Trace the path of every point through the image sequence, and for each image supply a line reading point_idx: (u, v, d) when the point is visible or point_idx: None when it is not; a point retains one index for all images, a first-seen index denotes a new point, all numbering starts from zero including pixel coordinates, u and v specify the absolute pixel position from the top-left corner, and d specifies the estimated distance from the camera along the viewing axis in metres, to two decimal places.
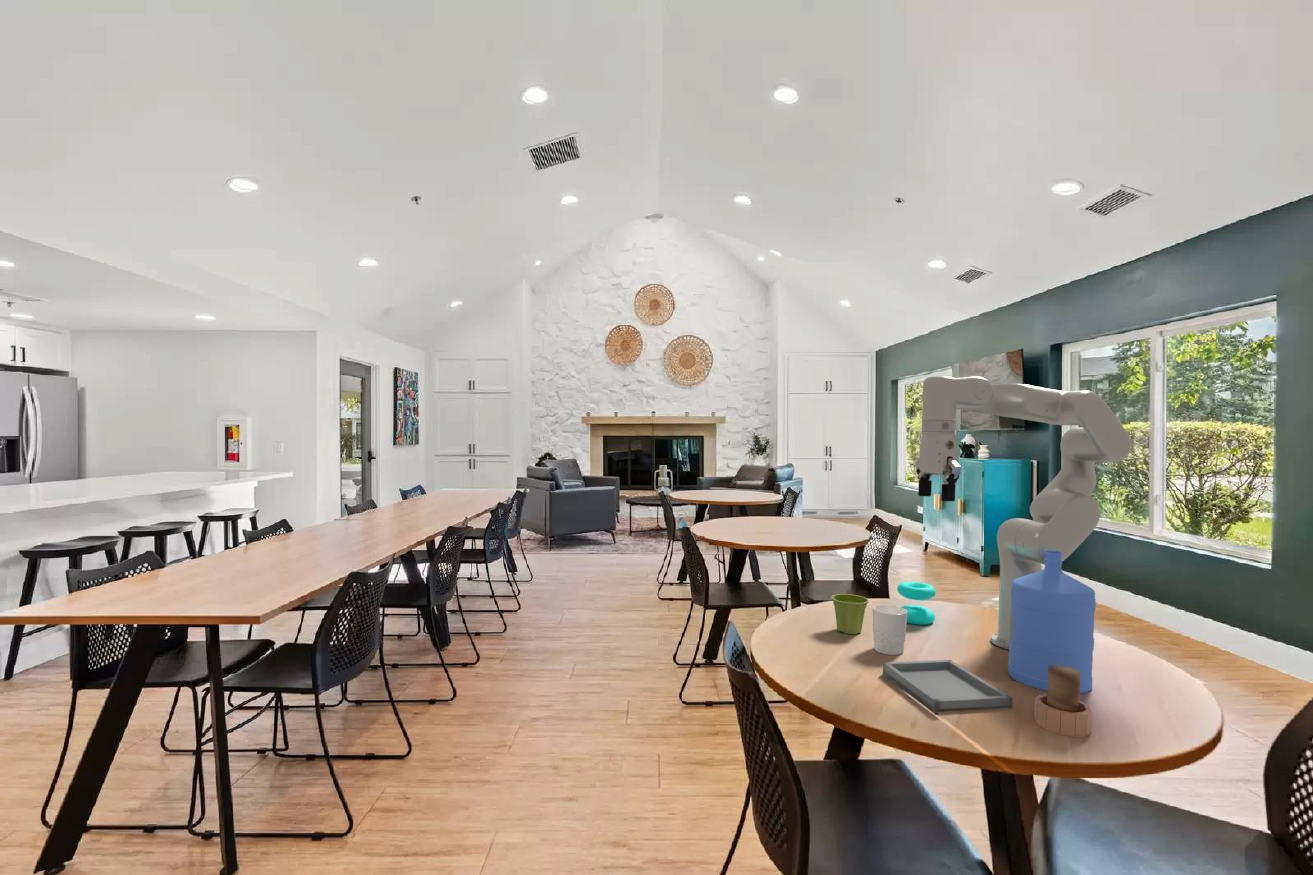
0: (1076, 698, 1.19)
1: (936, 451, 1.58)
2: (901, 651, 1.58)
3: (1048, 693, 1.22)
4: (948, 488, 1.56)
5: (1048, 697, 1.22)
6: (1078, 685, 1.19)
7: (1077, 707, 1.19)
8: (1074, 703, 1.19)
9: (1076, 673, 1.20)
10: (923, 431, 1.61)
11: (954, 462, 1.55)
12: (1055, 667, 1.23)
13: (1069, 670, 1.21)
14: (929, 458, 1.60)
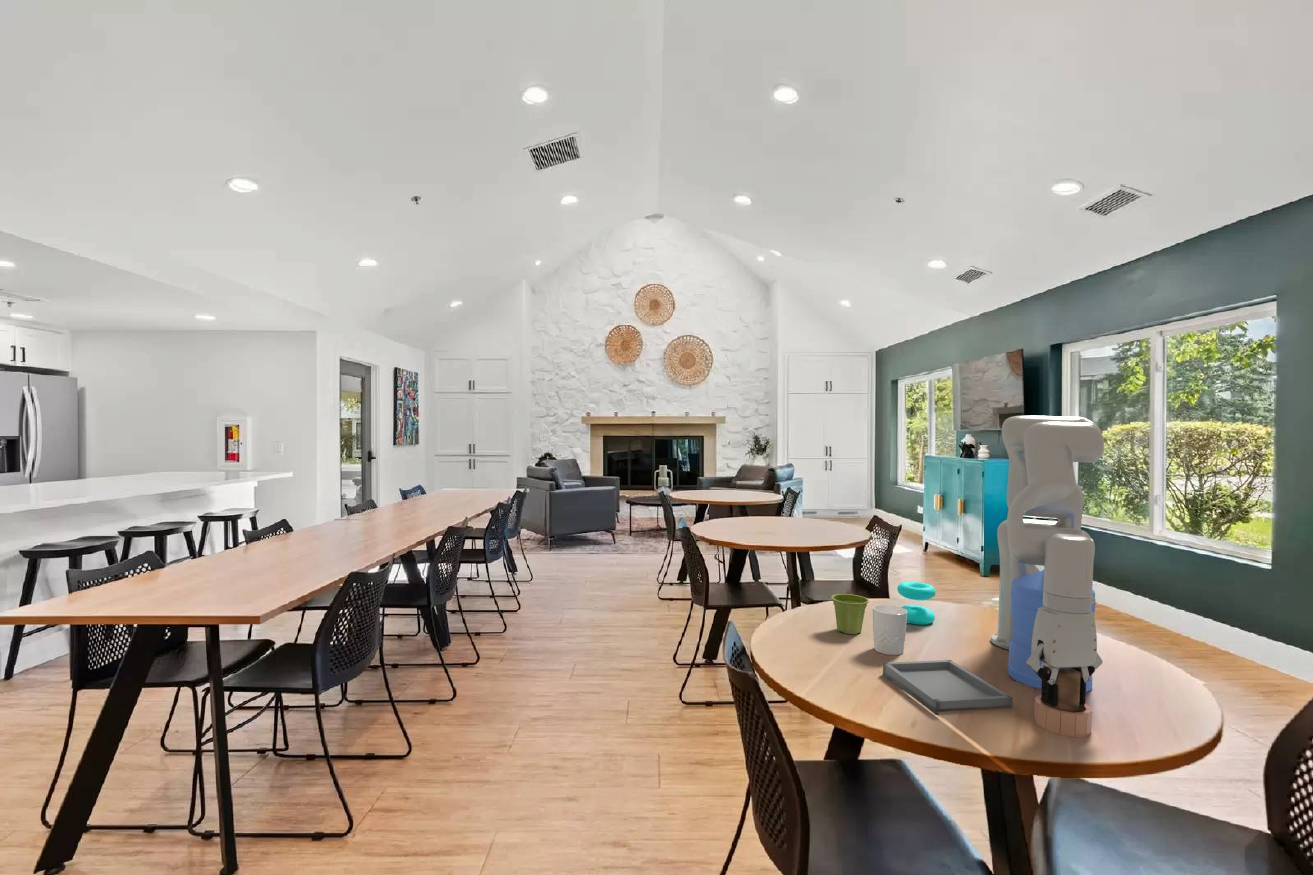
0: (1076, 698, 1.19)
1: (1091, 637, 1.19)
2: (901, 651, 1.58)
3: None
4: None
5: None
6: (1078, 685, 1.19)
7: (1077, 707, 1.19)
8: (1074, 703, 1.19)
9: (1076, 673, 1.20)
10: (1081, 614, 1.17)
11: None
12: None
13: (1069, 670, 1.21)
14: (1078, 648, 1.19)
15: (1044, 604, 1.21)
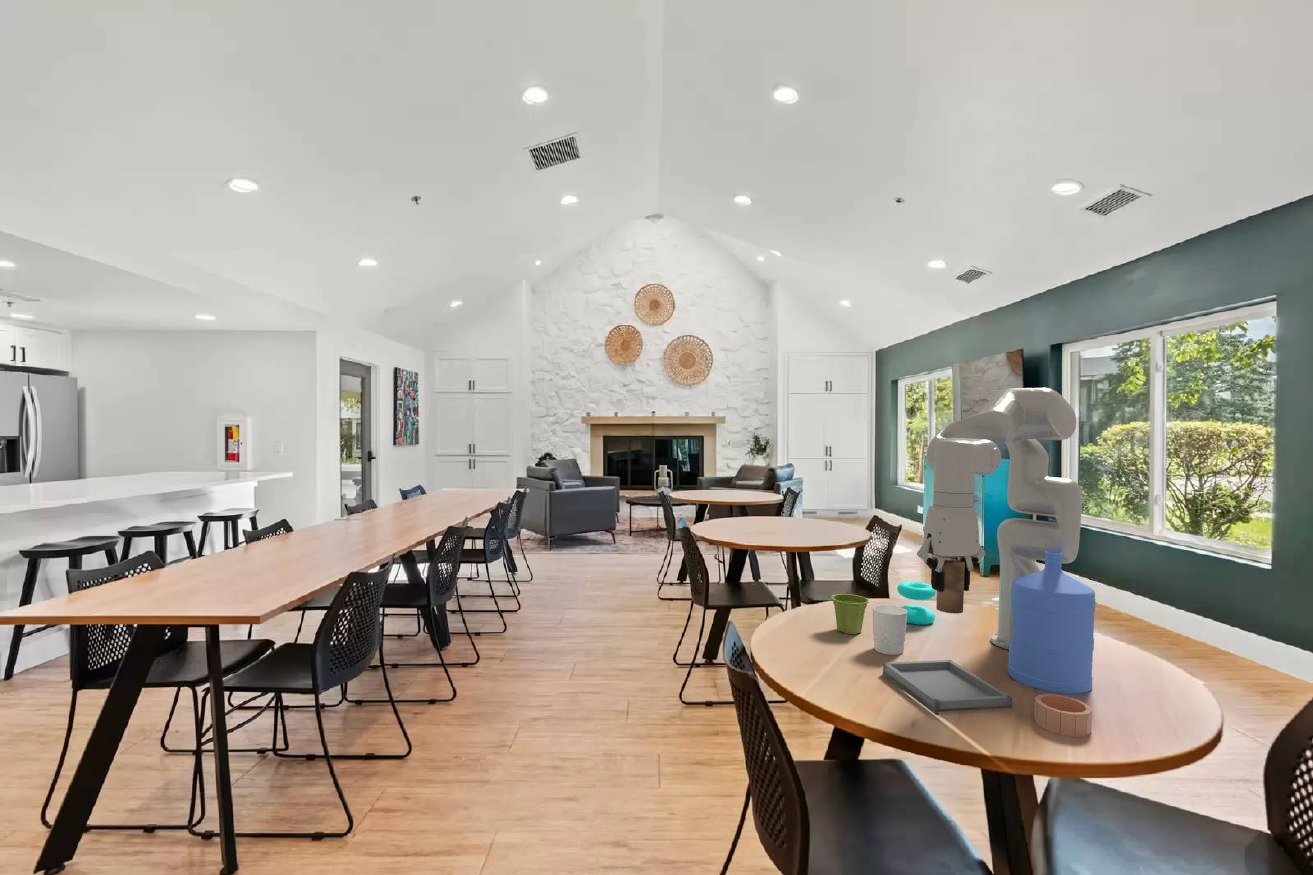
0: (960, 584, 1.34)
1: (973, 529, 1.34)
2: (901, 651, 1.58)
3: None
4: None
5: None
6: (962, 572, 1.34)
7: (961, 592, 1.34)
8: (958, 588, 1.33)
9: (961, 562, 1.35)
10: (963, 507, 1.32)
11: None
12: None
13: (956, 561, 1.36)
14: (961, 539, 1.33)
15: (933, 502, 1.36)
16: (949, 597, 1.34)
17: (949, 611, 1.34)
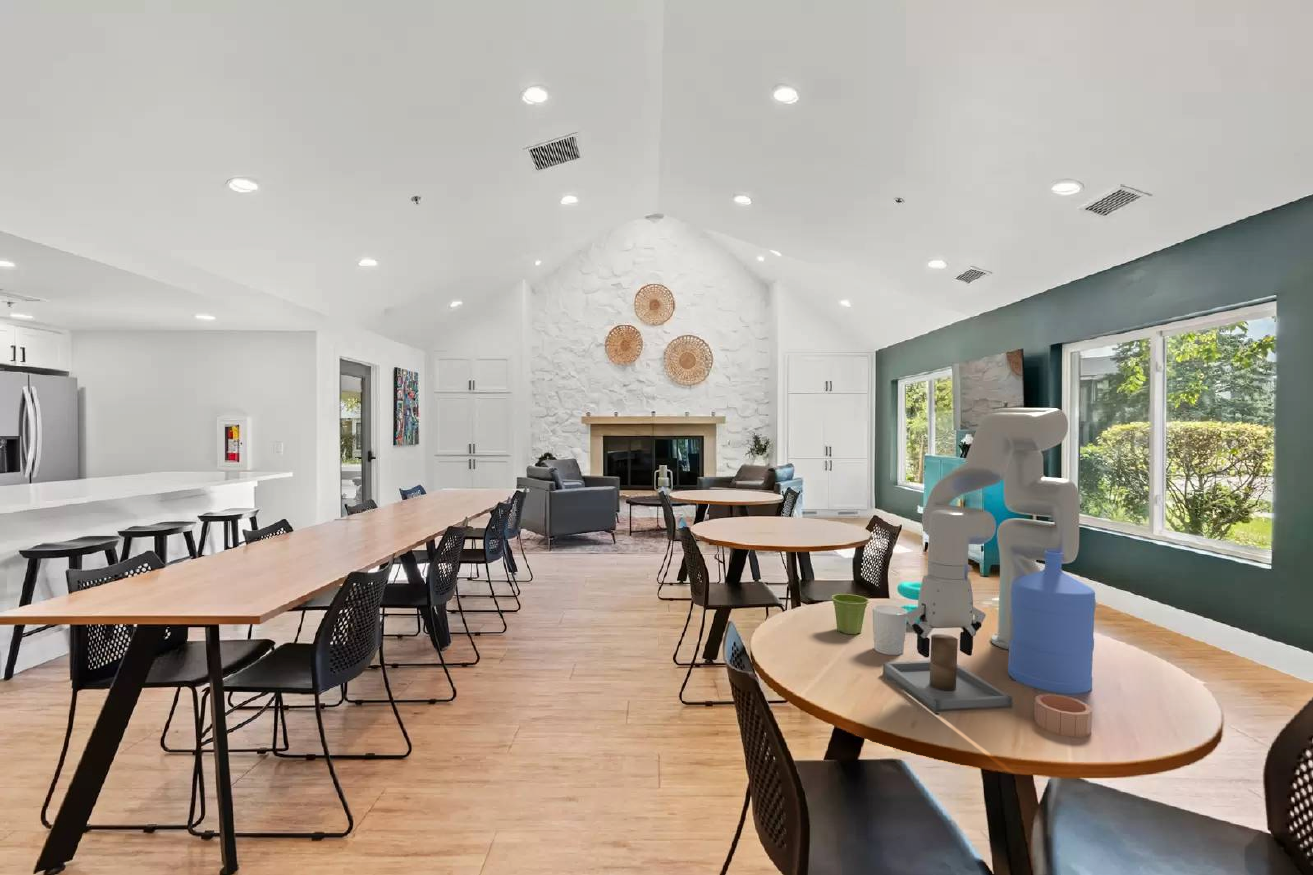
0: (953, 662, 1.35)
1: (968, 600, 1.35)
2: (901, 651, 1.58)
3: (930, 658, 1.37)
4: None
5: (930, 661, 1.37)
6: (955, 650, 1.35)
7: (954, 670, 1.35)
8: (951, 666, 1.34)
9: (954, 640, 1.35)
10: (957, 580, 1.33)
11: None
12: (937, 635, 1.38)
13: (949, 637, 1.37)
14: (955, 610, 1.34)
15: (928, 572, 1.37)
16: (942, 674, 1.35)
17: (942, 689, 1.35)
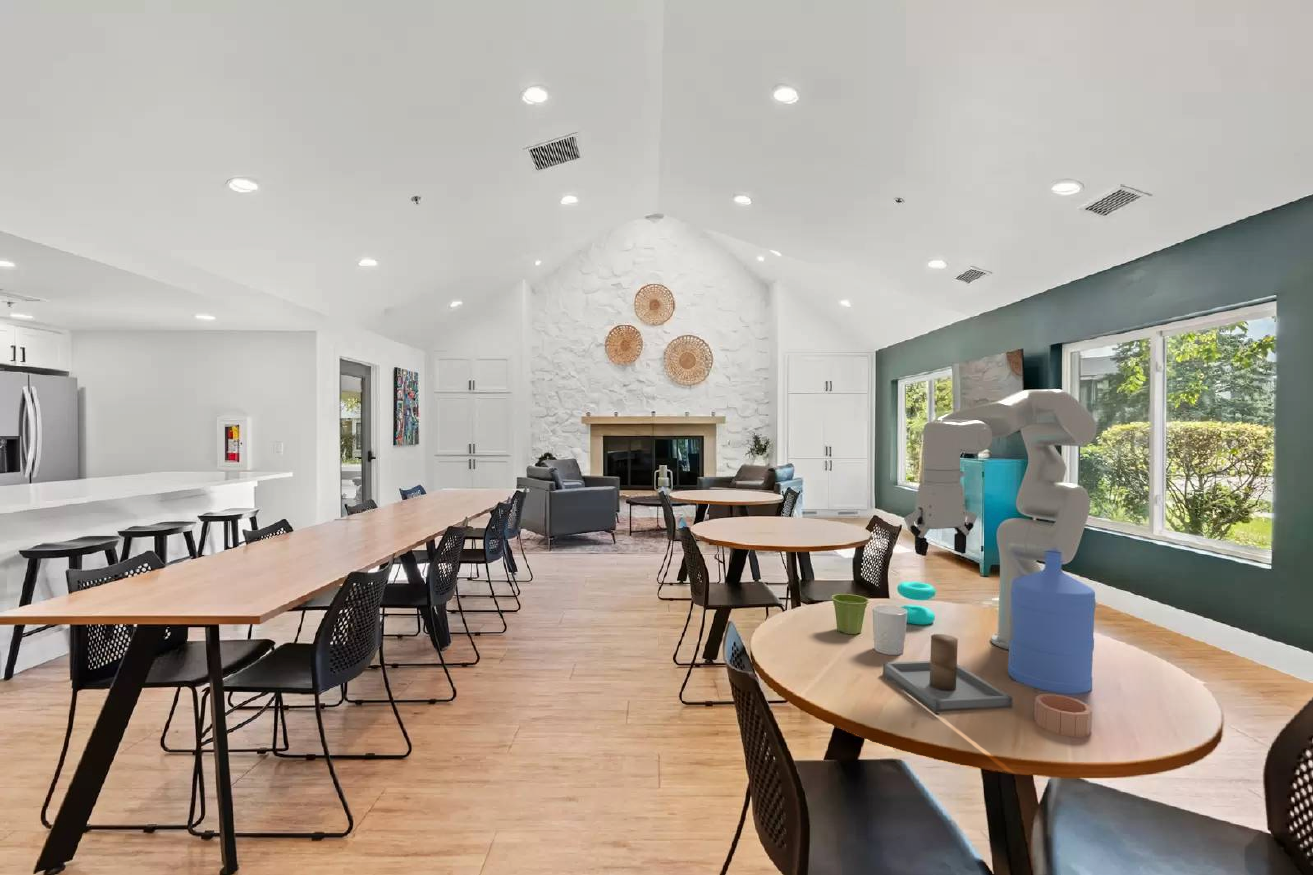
0: (953, 662, 1.35)
1: (960, 502, 1.47)
2: (901, 651, 1.58)
3: (930, 658, 1.37)
4: None
5: (930, 661, 1.37)
6: (955, 650, 1.35)
7: (954, 670, 1.35)
8: (951, 666, 1.34)
9: (954, 640, 1.35)
10: (950, 483, 1.45)
11: (968, 511, 1.50)
12: (937, 635, 1.38)
13: (949, 637, 1.37)
14: (950, 511, 1.46)
15: (923, 479, 1.49)
16: (942, 674, 1.35)
17: (942, 689, 1.35)
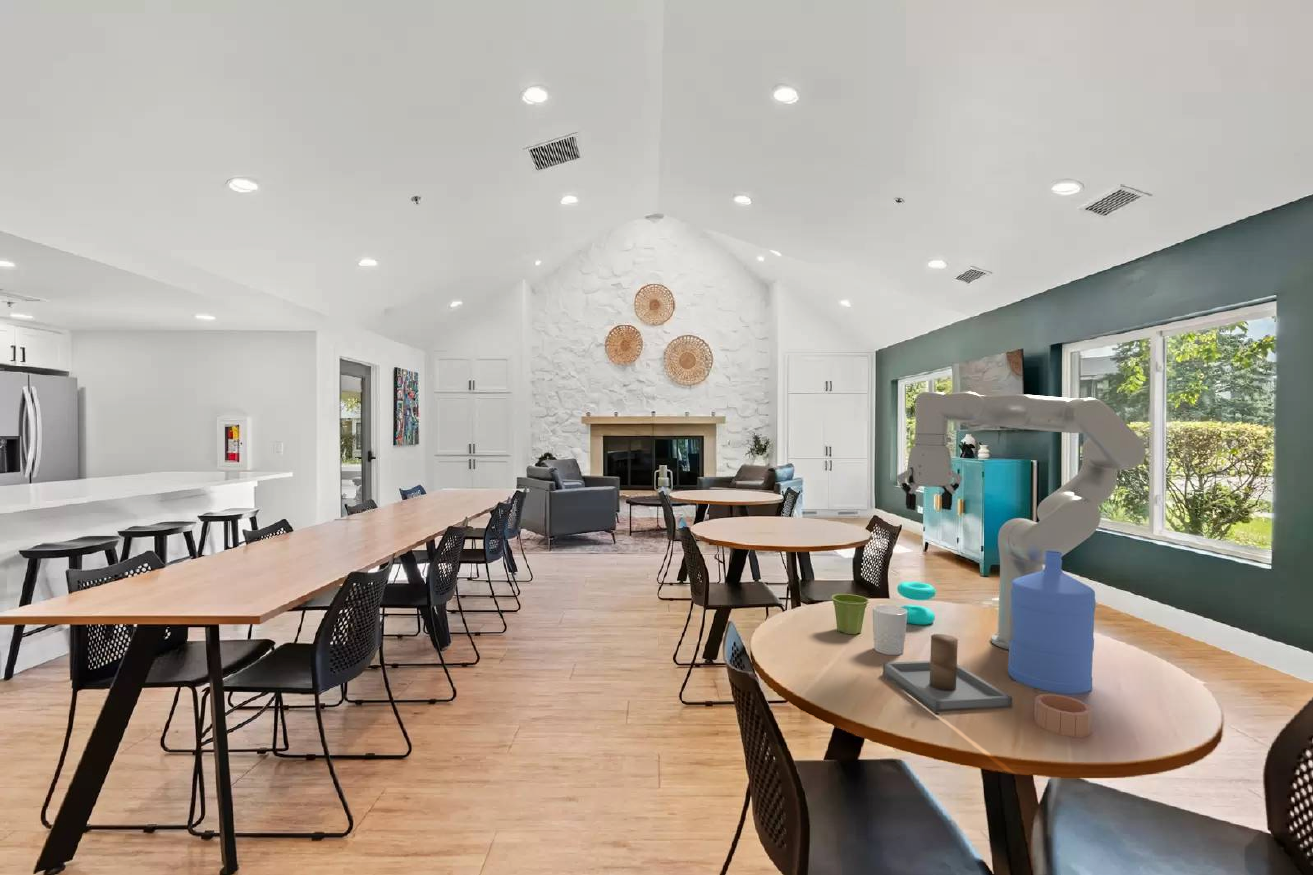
0: (953, 662, 1.35)
1: (947, 464, 1.66)
2: (901, 651, 1.58)
3: (930, 658, 1.37)
4: None
5: (930, 661, 1.37)
6: (955, 650, 1.35)
7: (954, 670, 1.35)
8: (951, 666, 1.34)
9: (954, 640, 1.35)
10: (938, 445, 1.64)
11: None
12: (937, 635, 1.38)
13: (949, 637, 1.37)
14: (937, 471, 1.65)
15: (915, 442, 1.68)
16: (942, 674, 1.35)
17: (942, 689, 1.35)
